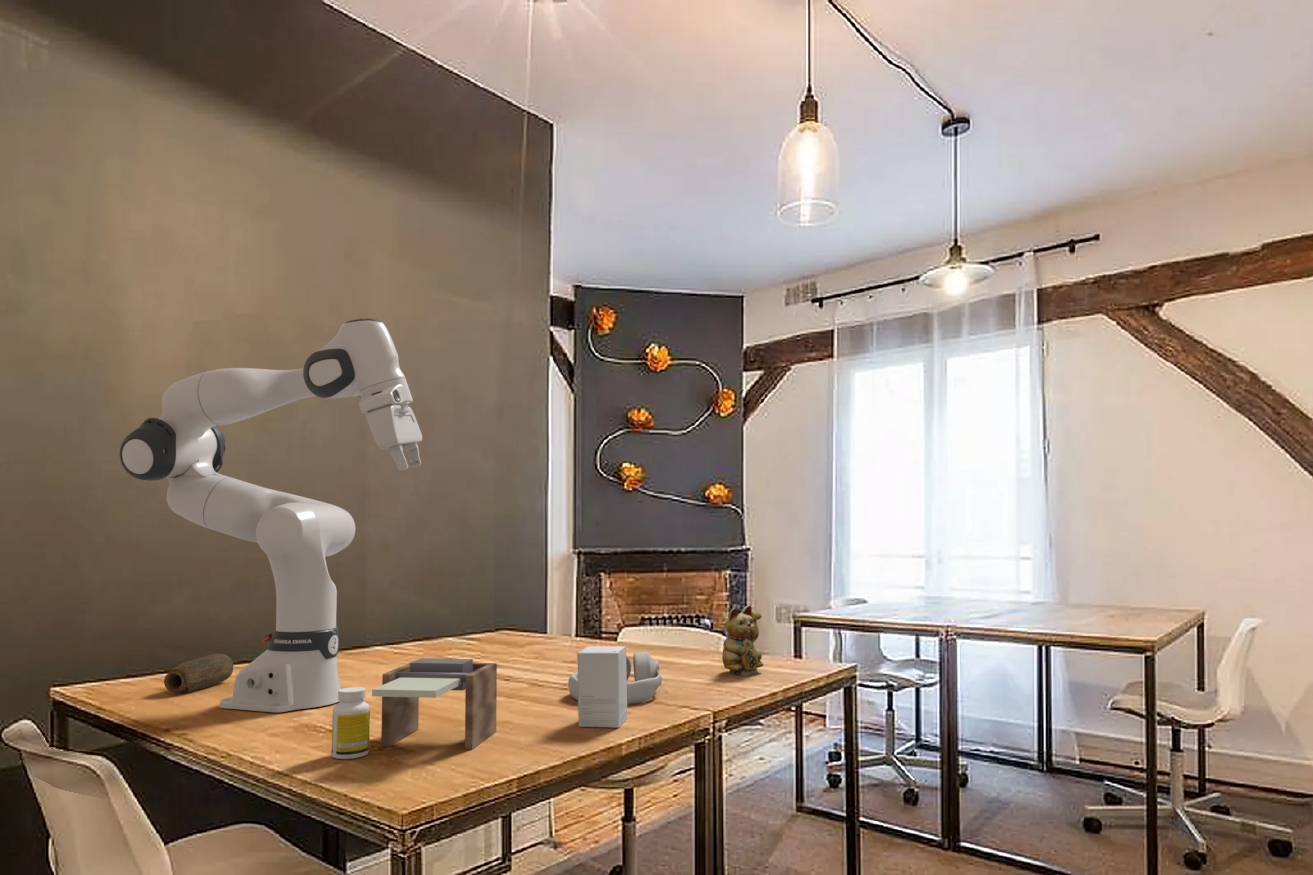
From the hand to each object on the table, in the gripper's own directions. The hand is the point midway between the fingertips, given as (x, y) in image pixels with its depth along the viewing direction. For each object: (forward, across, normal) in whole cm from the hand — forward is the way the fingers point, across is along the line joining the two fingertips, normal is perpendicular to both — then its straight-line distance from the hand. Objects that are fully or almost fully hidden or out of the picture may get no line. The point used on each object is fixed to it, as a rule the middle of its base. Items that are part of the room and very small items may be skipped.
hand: (410, 468), depth 164 cm
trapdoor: (+35, +31, -1) cm, 47 cm away
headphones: (+56, -5, +23) cm, 61 cm away
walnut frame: (+44, +27, -2) cm, 51 cm away
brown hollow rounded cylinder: (+31, -20, -63) cm, 73 cm away
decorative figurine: (+67, -26, +49) cm, 87 cm away
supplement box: (+53, +18, +22) cm, 60 cm away
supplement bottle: (+39, +35, -13) cm, 55 cm away
